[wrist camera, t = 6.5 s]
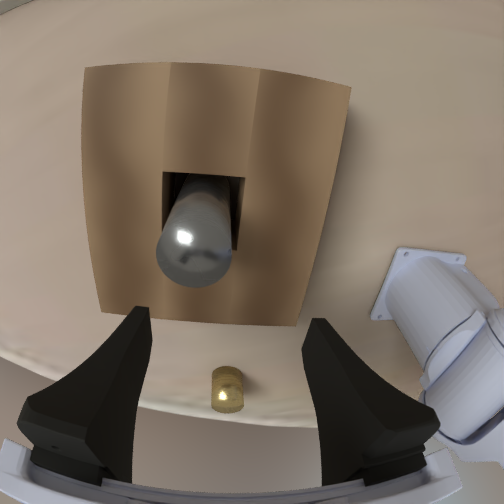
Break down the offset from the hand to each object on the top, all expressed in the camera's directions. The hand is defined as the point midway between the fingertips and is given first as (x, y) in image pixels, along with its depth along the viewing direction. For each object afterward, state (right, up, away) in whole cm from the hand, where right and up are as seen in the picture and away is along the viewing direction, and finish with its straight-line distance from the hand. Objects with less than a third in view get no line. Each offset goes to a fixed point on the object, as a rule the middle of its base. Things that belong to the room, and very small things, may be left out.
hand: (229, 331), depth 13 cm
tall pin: (-2, +8, +7) cm, 11 cm away
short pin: (-2, -10, +17) cm, 20 cm away
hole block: (-2, +8, +7) cm, 11 cm away
